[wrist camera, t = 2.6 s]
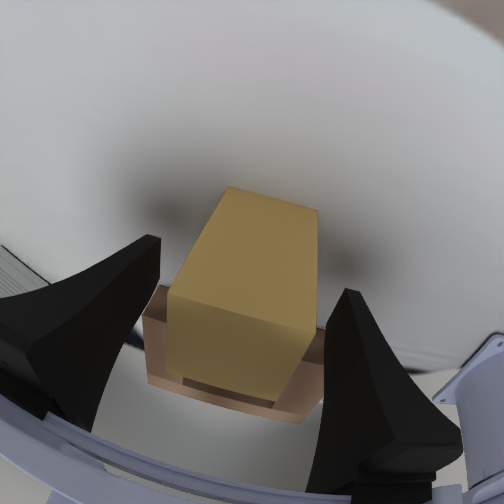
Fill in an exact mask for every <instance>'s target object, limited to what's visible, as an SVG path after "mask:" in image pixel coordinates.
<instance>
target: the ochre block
mask: <svg viewBox="0 0 504 504" xmlns="http://www.w3.org/2000/svg"><path fill="white" fill-rule="evenodd" d="M317 277H318V211H317V210H314V209H310V208H307V207H303V206H300V205H296V204H293V203H289V202H285V201H282V200H278V199H275V198H271V197H267V196H263V195H260V194H256V193H252V192H248V191H244V190H240V189H237V188H233V187H228V189H227V190H226V192H225V194H224V195H223V197H222V199H221V200H220V202H219V204H218V205H217V207H216V209H215V210H214V212H213V214H212V215H211V217H210V219H209V220H208V222H207V224H206V225H205V227H204V229H203V231H202V232H201V234H200V236H199V237H198V239H197V241H196V243H195V244H194V246H193V248H192V250H191V251H190V253H189V255H188V257H187V258H186V260H185V262H184V264H183V265H182V267H181V269H180V271H179V272H178V274H177V276H176V278H175V280H174V281H173V283H172V285H171V287H170V289H169V291H168V292H167V332H166V366H167V372H170V373H173V374H176V375H179V376H182V377H185V378H188V379H192V380H195V381H198V382H201V383H205V384H208V385H212V386H215V387H219V388H222V389H226V390H230V391H234V392H238V393H241V394H245V395H249V396H254V397H258V398H262V399H266V400H271V401H275V402H276V401H277V400H278V398H279V396H280V395H281V393H282V391H283V390H284V388H285V386H286V385H287V383H288V381H289V380H290V378H291V376H292V375H293V373H294V371H295V369H296V368H297V366H298V364H299V363H300V361H301V359H302V357H303V355H304V354H305V352H306V350H307V348H308V347H309V345H310V343H311V341H312V339H313V337H314V336H315V334H316V316H317Z"/></svg>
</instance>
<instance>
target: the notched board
mask: <svg viewBox="0 0 504 504" xmlns="http://www.w3.org/2000/svg"><path fill="white" fill-rule="evenodd" d="M169 289H170V288H167V287H164V286H161V285H159V287H158V288H157V290H156V292H155V294H154V295H153V297H152V299H151V300H150V302H149V304H148V305H147V307H146V309H145V311H144V312H143V314H142V322H143V336H144V348H145V358H146V368H147V377H148V383H149V384H151V385H154V386H157V387H159V388H162V389H165V390H168V391H171V392H174V393H177V394H181V395H184V396H187V397H190V398H193V399H196V400H200V401H203V402H206V403H210V404H213V405H217V406H221V407H224V408H228V409H232V410H236V411H240V412H244V413H248V414H253V415H257V416H261V417H266V418H270V419H275V420H280V421H285V422H290V423H295V424H301V422H302V421H303V420H304V419H305V418H306V417H307V415H308V414H309V413H310V412H311V410H312V409H313V408H314V407H315V406H316V405H317V403H318V402H319V401H320V400H321V399H322V397H323V396H324V340H325V331H324V330H320V329H316V334H315V336H314V337H313V339H312V341H311V343H310V345H309V347H308V348H307V350H306V352H305V354H304V355H303V357H302V359H301V361H300V363H299V364H298V366H297V368H296V369H295V371H294V373H293V375H292V376H291V378H290V380H289V381H288V383H287V385H286V386H285V388H284V390H283V391H282V393H281V395H280V396H279V398H278V400H277V401H276V402H275V401H271V400H266V399H262V398H258V397H254V396H249V395H245V394H241V393H238V392H234V391H230V390H226V389H222V388H219V387H215V386H212V385H208V384H205V383H201V382H198V381H195V380H192V379H188V378H185V377H182V376H179V375H176V374H173V373H170V372H167V366H166V332H167V292H168V291H169Z"/></svg>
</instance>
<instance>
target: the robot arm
mask: <svg viewBox="0 0 504 504" xmlns="http://www.w3.org/2000/svg"><path fill="white" fill-rule="evenodd" d="M160 254H161V238H159V237H155V236H152V235H148V234H146V235H145V236H143V237H141V238H139V239H138V240H136V241H134V242H133V243H131V244H130V245H128V246H126V247H125V248H123V249H121V250H120V251H118V252H116V253H115V254H113V255H111V256H110V257H108V258H106V259H104V260H102V261H101V262H99V263H97V264H95V265H93V266H91V267H90V268H88V269H86V270H84V271H82V272H80V273H78V274H75V275H73V276H71V277H69V278H66V279H64V280H62V281H59V282H56V283H53V284H51V285H48V286H45V287H42V288H39V289H36V290H33V291H29V292H26V293H22V294H18V295H14V296H9V297H3V298H0V455H1V456H2V457H3V458H5V459H6V460H8V461H9V462H10V463H12V464H13V465H14V466H16V467H17V468H19V469H20V470H22V471H23V472H25V473H26V474H28V475H29V476H31V477H32V478H34V479H36V480H37V481H39V482H40V483H42V484H44V485H45V486H47V487H49V488H50V489H52V492H51V494H50V496H49V499H48V501H47V503H46V504H208V503H204V502H201V501H197V500H193V499H190V498H186V497H182V496H179V495H175V494H172V493H169V492H166V491H162V490H159V489H156V488H153V487H151V486H148V485H145V484H142V483H140V482H137V481H134V480H131V479H128V478H125V477H123V476H118V475H115V474H112V473H110V472H108V471H107V470H106V469H105V468H104V465H103V463H101V462H99V461H97V460H100V461H102V462H104V463H106V464H109V465H111V466H113V467H116V468H118V469H120V470H123V471H125V472H128V473H131V474H133V475H136V476H138V477H141V478H144V479H146V480H149V481H152V482H155V483H158V484H161V485H164V486H167V487H170V488H174V489H177V490H180V491H184V492H187V493H191V494H194V495H198V496H202V497H206V498H210V499H214V500H219V501H223V502H228V503H232V504H504V336H503V335H499V334H496V335H493V336H492V337H491V338H490V339H489V340H488V341H487V342H486V343H485V345H484V346H483V347H482V348H481V349H480V350H479V351H478V352H477V353H476V354H475V356H474V357H473V358H472V359H471V360H470V361H469V362H468V363H467V364H466V365H465V366H464V367H463V368H462V369H461V370H460V371H459V372H458V373H457V374H456V375H455V376H454V377H453V378H452V379H451V380H450V381H449V382H448V383H447V384H446V385H445V386H444V387H443V388H442V389H441V390H439V391H438V392H437V393H436V394H435V395H434V396H433V397H432V400H433V403H440V404H456V405H457V409H458V415H459V421H460V426H461V431H460V428H459V427H457V426H456V425H455V424H454V423H453V422H451V420H449V419H448V418H447V417H446V416H445V415H444V414H442V412H441V411H440V410H439V409H437V407H436V406H435V405H434V404H433V403H432V402H431V401H430V400H429V399H428V398H427V397H426V396H425V395H424V394H423V392H422V391H421V390H420V389H419V387H418V386H417V385H416V384H415V383H414V382H413V380H412V379H411V378H410V376H409V375H408V374H407V372H406V371H405V369H404V368H403V366H402V365H401V364H400V362H399V361H398V359H397V358H396V356H395V355H394V353H393V351H392V350H391V348H390V346H389V345H388V343H387V341H386V340H385V338H384V336H383V334H382V333H381V331H380V329H379V327H378V325H377V323H376V322H375V320H374V318H373V316H372V314H371V312H370V310H369V308H368V306H367V304H366V302H365V300H364V299H363V297H362V295H361V293H360V292H359V291H355V290H351V289H348V288H345V289H344V291H343V293H342V295H341V297H340V299H339V301H338V303H337V305H336V307H335V308H334V310H333V312H332V314H331V316H330V318H329V320H328V321H327V323H326V331H325V340H324V400H323V410H322V417H321V424H320V430H319V436H318V442H317V447H316V452H315V456H314V460H313V465H312V469H311V473H310V476H309V480H308V484H307V488H306V491H305V493H302V492H294V491H286V490H279V489H272V488H266V487H260V486H254V485H249V484H244V483H239V482H233V481H230V480H225V479H221V478H217V477H212V476H209V475H205V474H201V473H197V472H194V471H190V470H187V469H183V468H180V467H177V466H173V465H170V464H167V463H164V462H161V461H158V460H155V459H153V458H150V457H147V456H144V455H141V454H139V453H136V452H134V451H131V450H128V449H126V448H123V447H121V446H119V445H116V444H114V443H111V442H109V441H107V440H104V439H102V438H100V437H98V436H96V435H94V434H91V430H92V426H93V423H94V420H95V416H96V413H97V409H98V406H99V403H100V400H101V397H102V394H103V391H104V389H105V386H106V383H107V381H108V378H109V375H110V373H111V370H112V368H113V366H114V363H115V361H116V359H117V356H118V354H119V352H120V350H121V348H122V346H123V344H124V342H125V340H126V338H127V337H128V335H129V333H130V332H131V330H132V328H133V327H134V325H135V324H136V322H137V320H138V319H139V317H140V315H141V314H142V312H143V310H144V309H145V307H146V305H147V304H148V302H149V301H150V299H151V297H152V294H153V292H154V290H155V288H156V286H157V283H158V281H159V279H160ZM461 433H462V436H461ZM462 439H463V443H462ZM463 445H464V453H465V461H466V470H467V481H468V490H469V491H467V492H465V493H462V486H461V484H454V485H447V486H440V487H436V488H432V482H433V481H435V480H436V471H438V470H440V469H441V468H443V467H445V466H447V465H449V464H450V463H452V462H453V461H455V460H457V459H458V458H459V457H460V456H461V454H462V453H463ZM90 456H91V457H90ZM92 457H93V458H92ZM94 458H95V459H94ZM96 459H97V460H96Z"/></svg>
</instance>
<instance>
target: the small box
mask: <svg viewBox="0 0 504 504" xmlns="http://www.w3.org/2000/svg"><path fill="white" fill-rule="evenodd" d="M48 285H49V284H48V283H46V282H45V281H44V280H42V279H41V278H40V277H38V276H37V275H36V274H35V273H33V272H32V271H31V270H30V269H28V268H27V267H26V266H25V265H23V264H22V263H21V262H20V261H18V260H17V259H16V258H15V257H13V256H12V255H11V254H10V253H9V252H7V251H6V250H5V249H4V248H3V247H2V246H0V298H3V297H9V296H14V295H18V294H22V293H26V292H29V291H33V290H36V289H39V288H42V287H45V286H48Z"/></svg>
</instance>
